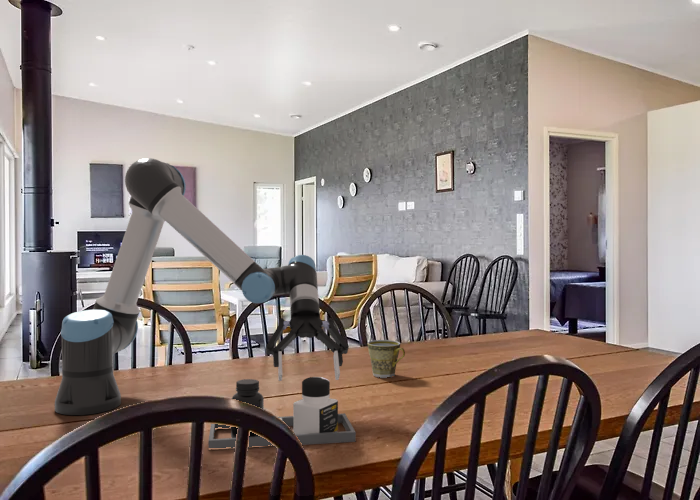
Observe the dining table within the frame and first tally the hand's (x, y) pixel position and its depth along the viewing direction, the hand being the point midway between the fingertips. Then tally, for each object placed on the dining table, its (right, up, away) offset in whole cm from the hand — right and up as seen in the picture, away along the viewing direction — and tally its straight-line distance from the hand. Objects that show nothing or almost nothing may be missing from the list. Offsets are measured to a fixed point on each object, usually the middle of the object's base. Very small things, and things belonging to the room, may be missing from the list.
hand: (309, 377), depth 141 cm
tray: (-5, -10, -12) cm, 17 cm away
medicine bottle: (+2, -10, -11) cm, 15 cm away
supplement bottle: (-12, -10, -14) cm, 21 cm away
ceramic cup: (+21, -8, +40) cm, 46 cm away
